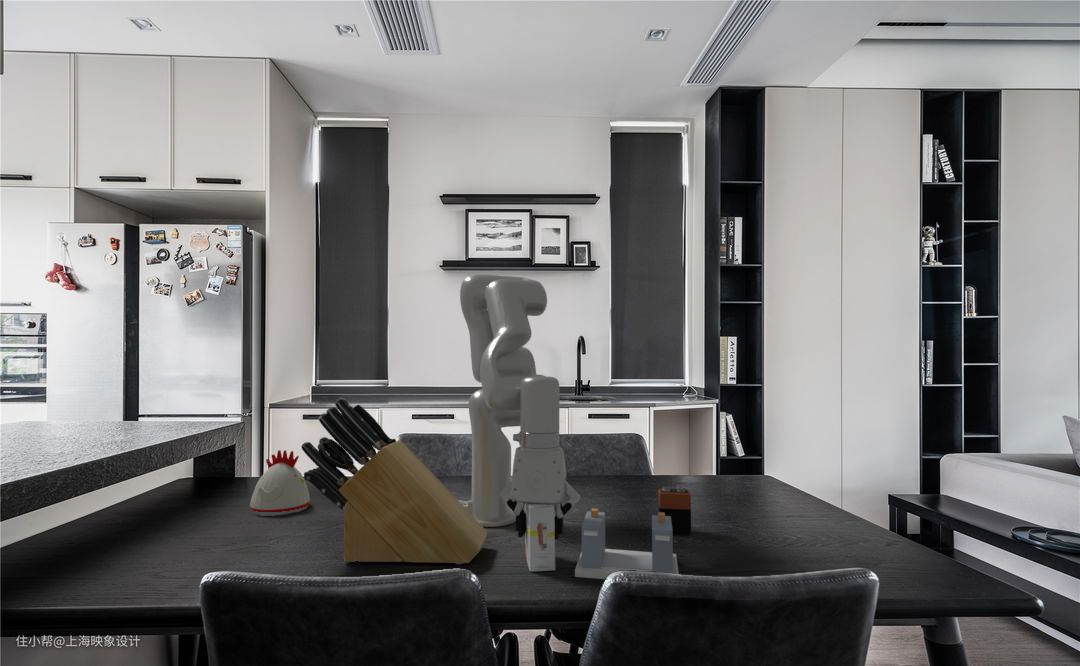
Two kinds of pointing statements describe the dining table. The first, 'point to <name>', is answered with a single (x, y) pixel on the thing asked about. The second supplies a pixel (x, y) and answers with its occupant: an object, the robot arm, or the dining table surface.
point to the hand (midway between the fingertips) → (539, 535)
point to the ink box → (540, 537)
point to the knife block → (388, 495)
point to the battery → (676, 508)
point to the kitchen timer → (280, 486)
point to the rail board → (607, 561)
